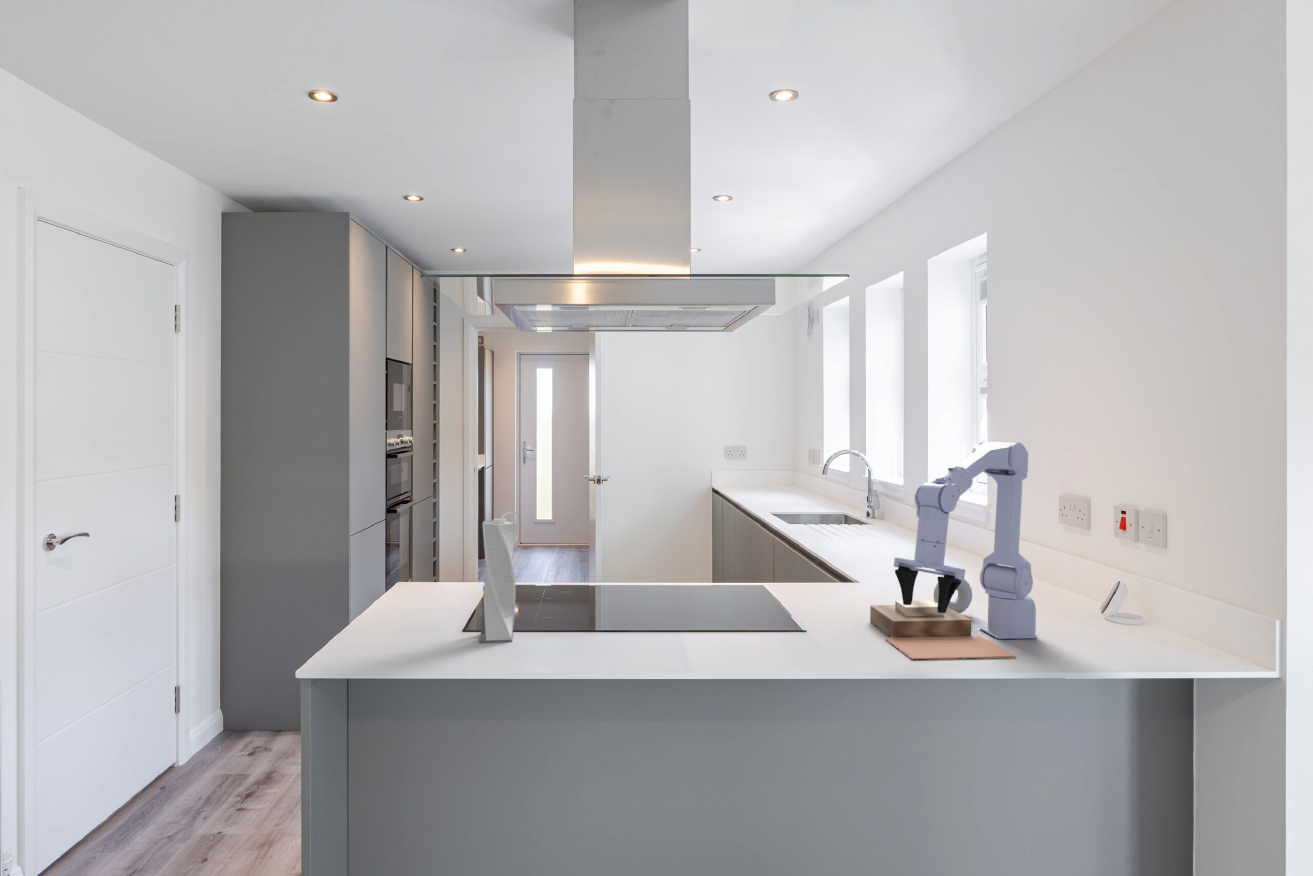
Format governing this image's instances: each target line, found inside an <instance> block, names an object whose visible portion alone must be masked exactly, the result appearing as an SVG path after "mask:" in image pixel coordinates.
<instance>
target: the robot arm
mask: <svg viewBox="0 0 1313 876" xmlns="http://www.w3.org/2000/svg"><path fill="white" fill-rule="evenodd" d="M1028 468H1029V452H1028V450H1027V448H1026V447H1025V446H1024V444H1023V443H1022V442H1020V441H1019V442H1018V441H1017V442H1003V441H1002V442H1001V441H999V442H998V441H984V440H982V441H981V440H980V441H979V442H977V444H976V445H974V446H973V448H972V454H971V455H970V456H969V457H968V458H967V459H966V460H965V461H964V462H963V463H962V464H961V465H949V466H948V467H947V468H946V469H947V470H946V471H944V472H943V473H941V474H940V475H939V476H937V477H936V478H935V479H934V480H933V481H932V482H924V483H922V484H921V485H920V486H918V488H917V489H916V492H915V494H914V503H915V506H916V517H917V518H918V522H917V533H916V541H915V549H914V551H915V552H914V557H913V558H914V559H909V558H908V559H907V558H901V557H894V561H893V567H895V568H897V569H895V570H894V573H895V576H896V577H897V581H898V584H899V586H900V591H901V596H902V601H903V604H904V605H911V603H912V601H913V597H914V588H915V584H916V580H917V578H918V574H919V572H920V573H921V572H922V573H928V574H932V575H933V574H934V575H937V583H938V586H939V599H938V612H939V613H946V610H947V607H948V605H949V602H950V601H951V599H952V597H953V596H954V594H955V592H956V591H957V590H956V589H957V588H958V586H959V585H960V584H961V580H959V579H965V575H966V569H964V568H960V567H959V568H958V567H955V566H949V565H944V564H945V558H946V556H945V555H946V548H947V547H946V546H947V537H948V528H949V527H948V526H949V519H950V518H949V516H950V513H951V512H952V511H954V510H955V509H956V508H957V504H958V501H960V497H961V496H962V495H963V494H965V493H966V492H967V491H968V490H969V489H971V488H972V486H973V479H974V478H976V477H978V476H979V475H980V474H982V473H984V474H986V475H987V476H988V477H991V478H992V479H993V480H994V481H995V483H996V485H997V487H996V490H997V491H996V507H995V523H994V524H995V525H994V526H995V527H994V542H993V543H994V545H993V546H994V547H993V552H991V553H990V554H989V555H987V556H985V557H984V558H983V561H982V567H981V570H980V572H979V581H980V584H981V588H982V589H983V590H984V591H985V594H987V595H988V599H987V600H988V602H987V603H988V604H987V605H988V607H987V626H980V627H979V630H981V631H982V630H983V632H984V631H985V633H986V634H988V635H990V636H991V635H992V637H993V636H994V638H995V639H999V640H1006V639H1007V640H1009V639H1018V640H1019V639H1038V635H1036V630H1037V626H1036V625H1037V624H1036V623H1037V617H1036V616H1037V607H1036V604H1035V602H1034V601H1035V600H1033V598H1032V597H1031V596H1030V595H1029V594H1030V593H1031V591H1032V589H1033V585H1034V584H1033V583H1034V579H1033V575H1032V564H1031V563H1030V562H1029V561H1028V559H1026V558H1025V557H1023V556H1022V555H1021V554H1020V538H1021V537H1020V536H1021V535H1020V534H1021V517H1022V500H1023V499H1022V498H1023V496H1022V495H1023V481H1024V480H1026V479H1027V478H1028V472H1029V469H1028ZM924 568H925V569H924ZM929 569H932V570H929Z"/></svg>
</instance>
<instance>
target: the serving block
mask: <svg viewBox="0 0 1313 876" xmlns="http://www.w3.org/2000/svg"><path fill="white" fill-rule="evenodd" d="M869 611H870V612H869V613H870V614H869V615H870V617H869V619H870V620H869V621H870V623H871V624H872V625H874V626H875V627H876V626H877V627H876V628H878V629H879V628H880V629H881V630H880V629H879V630H880V631H882V632H883V631H884V632H885V633H884V632H883V633H884V634H886V633H887V634H888V635H887V634H886V635H887V636H889V635H890V636H891V637H892V638H904V637H958V636H972V625H973V624H972V622H973V621H972V620H973V619H971V618H969V617H968V616H966V615H964V614H962V613H958V612H956V611H954V610H952V609H951V608H949V607H947V610H946V613H944V615H943V616H905V615H903V614H902V613H900V612H899V611H897V610H896V609H895V604H883V605H881V604H875V605H874V604H872V605H871V604H870V610H869ZM890 636H889V637H890ZM891 637H890V638H891Z"/></svg>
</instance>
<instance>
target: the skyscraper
mask: <svg viewBox="0 0 1313 876" xmlns="http://www.w3.org/2000/svg"><path fill="white" fill-rule="evenodd" d="M509 514H510V515H511V514H515V515H516V517H515V518H516V519H515V521H514V522H511V521H507V518H505V516H506V515H509ZM519 516H520V513H519V512H518V511H513V510H512V511H511V510H510V511H506V512H504V513H503V514H502V515H501V518H498V517H497V518H493V519H492V520H484V521H482V533H483V534H482V535H483V536H482V537H483V548H484V556H485V562H486V564H485V565H486V566H485V572H484V579H483V580H484V584H483V589H482V591H483V593H482V594H483V595H482V597H481V608H482V609H481V617H480V623H481V629H480V634H479V640H478V644H488V643H489V644H490V643H491V644H492V643H493V644H494V643H512V642H513V632H514V625H515V615H516V614H515V611H516V578H515V570H514V565H513V558H514V551H515V546H516V536H517V526H518V525H517V523H518V520H519Z"/></svg>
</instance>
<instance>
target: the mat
mask: <svg viewBox="0 0 1313 876" xmlns="http://www.w3.org/2000/svg"><path fill="white" fill-rule="evenodd" d="M884 640H885V641H886V640H887V641H886V642H888V643H889V642H890V643H891V644H892V646H893V645H894V646H895V647H896V648H895V647H894V646H893V647H894V648H895V649H897V648H898V649H899V650H901V651H902V652H903V653H905V654H906V655H907V656H909V658H908V659H910V658H911V659H912V660H911V659H910V660H911V661H914V660H913V659H939V660H959V659H958V658H986V659H1015V658H1016V655H1015V654H1012V653H1011V652H1010V651H1007V650H1006V649H1004V648H1002V647H1000V646H999V645H997V644H995V643H993V642H992V641H991V640H988V639H987V638H985V637H984V636H981V635H976V636H975V635H971V636H958V637H904V638H891V637H884ZM890 643H889V644H890ZM891 644H890V645H891ZM898 649H897V650H898ZM899 650H898V651H899ZM901 651H900V652H901ZM902 652H901V653H902ZM903 653H902V654H903ZM906 655H905V656H906ZM907 656H906V657H907ZM947 658H948V659H947Z"/></svg>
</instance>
